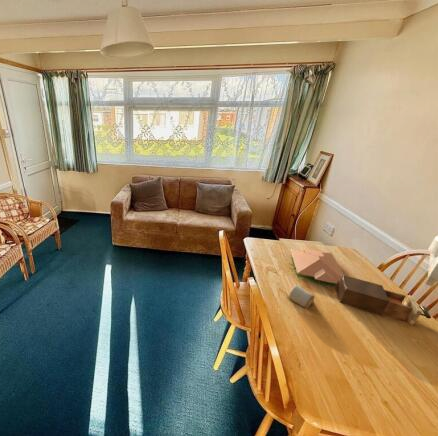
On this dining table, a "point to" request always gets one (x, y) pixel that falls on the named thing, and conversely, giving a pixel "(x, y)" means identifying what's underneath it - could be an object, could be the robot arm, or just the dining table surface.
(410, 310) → the drawer
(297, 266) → the house
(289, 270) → the dining table surface
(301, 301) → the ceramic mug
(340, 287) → the cabinet
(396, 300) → the block
